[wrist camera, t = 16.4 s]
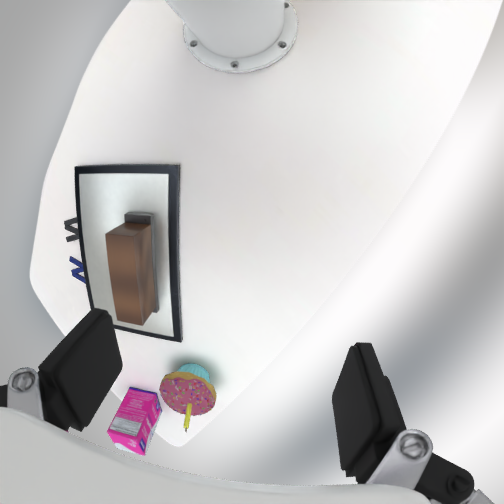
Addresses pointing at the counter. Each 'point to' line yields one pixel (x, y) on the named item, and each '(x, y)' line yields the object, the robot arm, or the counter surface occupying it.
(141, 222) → the eraser
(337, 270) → the counter surface
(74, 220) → the scribble
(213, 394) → the cupcake
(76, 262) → the scribble
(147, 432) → the supplement box
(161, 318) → the whiteboard
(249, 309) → the counter surface
